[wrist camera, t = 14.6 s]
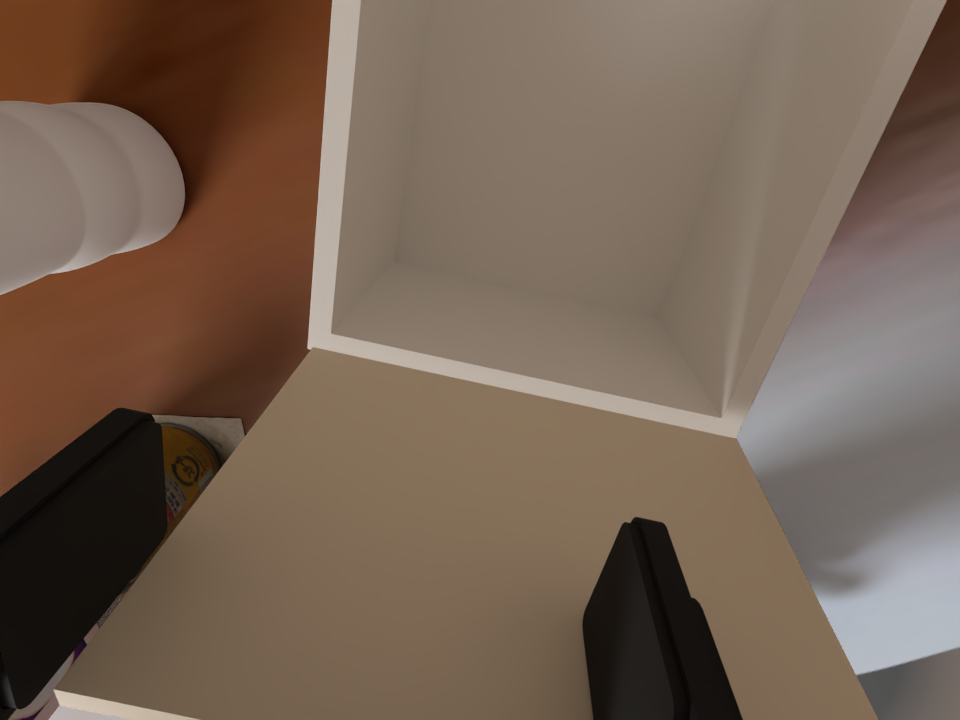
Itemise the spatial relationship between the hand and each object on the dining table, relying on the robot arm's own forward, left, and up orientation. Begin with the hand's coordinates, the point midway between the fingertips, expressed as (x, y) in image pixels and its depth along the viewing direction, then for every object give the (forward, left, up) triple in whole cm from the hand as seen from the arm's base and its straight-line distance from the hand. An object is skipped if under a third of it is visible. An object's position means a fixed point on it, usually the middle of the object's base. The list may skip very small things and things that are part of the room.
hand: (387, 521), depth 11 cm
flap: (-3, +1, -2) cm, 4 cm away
